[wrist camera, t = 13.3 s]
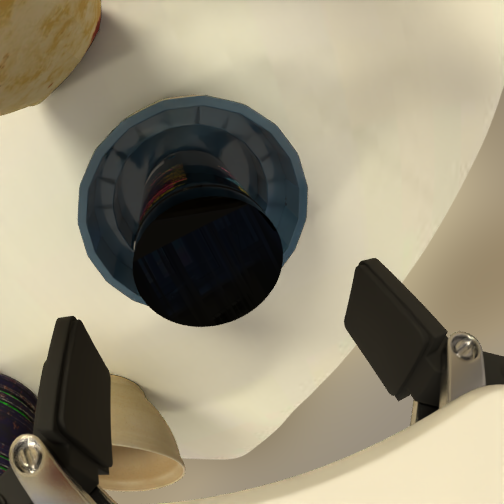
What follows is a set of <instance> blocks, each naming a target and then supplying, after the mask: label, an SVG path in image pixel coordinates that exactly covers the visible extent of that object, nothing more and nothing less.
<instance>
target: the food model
mask: <svg viewBox="0 0 504 504" xmlns="http://www.w3.org/2000/svg"><path fill="white" fill-rule="evenodd" d="M100 20H101V0H0V116H1V115H5V114H8V113H11V112H15V111H17V110H20V109H23V108H25V107H28V106H35V105H37V104H39V103H41V102H42V101H43V100H44V99H46V98H47V97H48V96H49V95H50V94H51V93H52V92H53V91H54V90H55V89H56V88H57V87H58V86H59V85H60V84H61V83H62V82H63V81H64V80H65V79H66V78H67V77H68V76H69V75H70V73H71V72H72V71H73V69H74V68H75V67H76V66H77V64H78V63H79V62H80V61H81V59H82V58H83V56H84V54H85V53H86V51H87V50H88V48H89V47H90V45H91V43H92V41H93V40H94V38H95V36H96V34H97V32H98V31H99V27H100Z"/></svg>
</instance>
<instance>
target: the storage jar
mask: <svg viewBox="0 0 504 504" xmlns="http://www.w3.org/2000/svg"><path fill="white" fill-rule="evenodd" d="M36 404H37V398H36V397H35V395H34V394H33V393H32V392H31V391H30V390H29V389H28V388H26V387H25V386H24V385H22V384H21V383H19V382H18V381H16V380H14V379H12V378H10V377H8V376H5V375H3V374H0V476H1V475H2V474H3V473H4V472H5V471H6V470H7V469H8V468H9V467H10V466H11V464H10V462H9V450H10V447H11V445H12V443H13V441H14V440H15V439H16V438H17V437H19V436H21V435H24V434H32V435H33V427H34V419H35V411H36Z"/></svg>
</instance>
